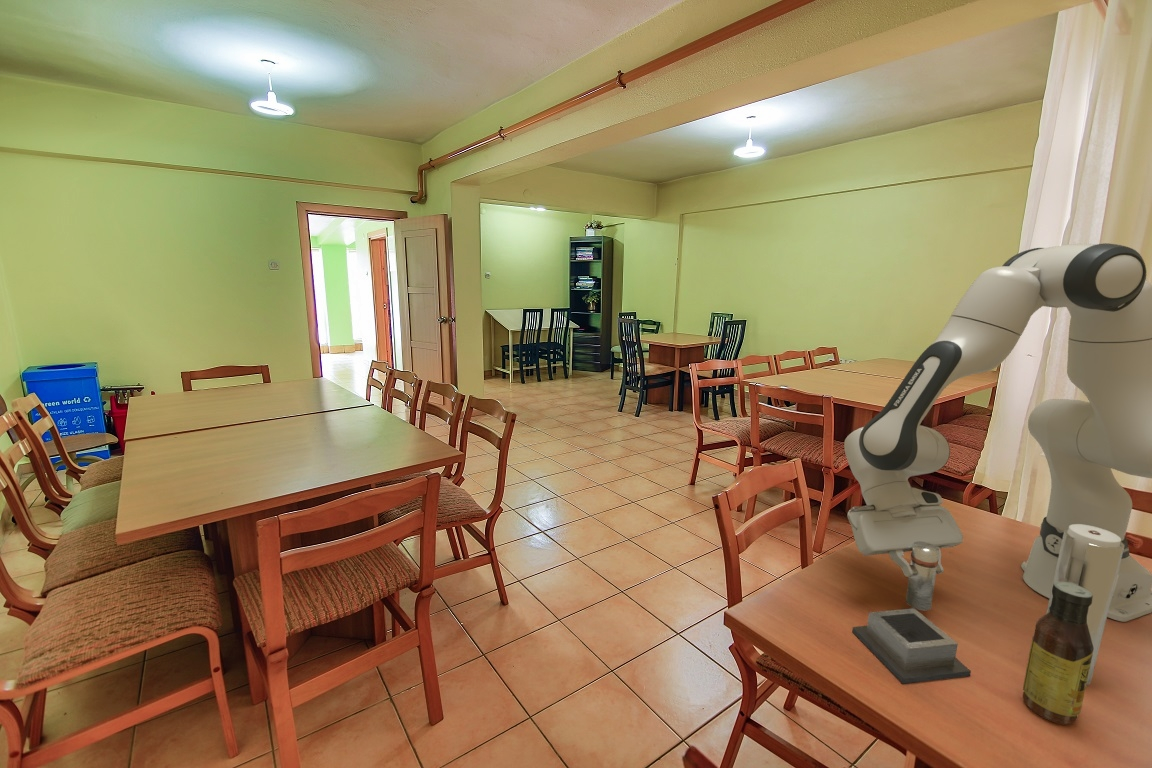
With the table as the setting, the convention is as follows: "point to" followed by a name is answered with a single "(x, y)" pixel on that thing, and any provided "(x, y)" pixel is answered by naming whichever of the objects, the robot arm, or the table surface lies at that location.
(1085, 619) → the sauce bottle
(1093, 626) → the silver piece
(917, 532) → the robot arm
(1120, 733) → the table surface
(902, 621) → the collar
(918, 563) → the cylinder
